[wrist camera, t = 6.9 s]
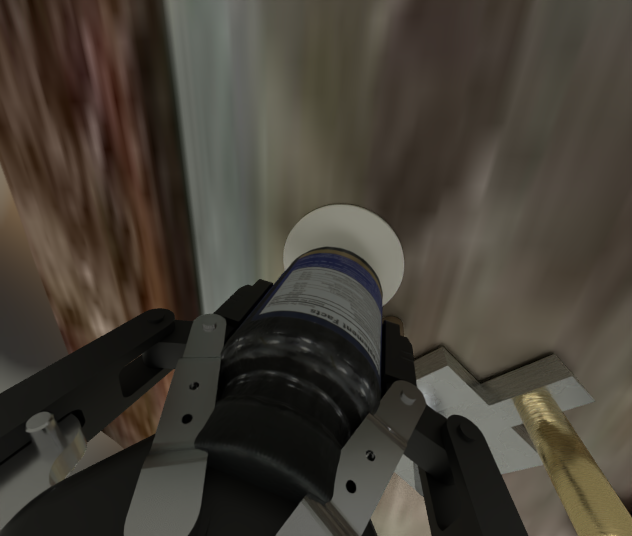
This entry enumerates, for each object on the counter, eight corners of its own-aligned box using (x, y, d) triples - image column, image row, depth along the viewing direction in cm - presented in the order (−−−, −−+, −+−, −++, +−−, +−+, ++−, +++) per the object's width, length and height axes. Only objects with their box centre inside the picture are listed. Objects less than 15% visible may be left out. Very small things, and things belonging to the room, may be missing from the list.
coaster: (410, 203, 17) (411, 205, 16) (398, 318, 20) (398, 322, 20) (280, 203, 19) (277, 205, 18) (290, 306, 23) (288, 310, 22)
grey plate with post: (416, 470, 27) (429, 608, 19) (337, 400, 26) (313, 518, 18) (612, 416, 19) (780, 618, 11) (513, 310, 18) (621, 452, 9)
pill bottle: (329, 343, 18) (262, 574, 8) (268, 280, 17) (109, 460, 7) (405, 299, 15) (437, 573, 5) (336, 221, 14) (227, 385, 4)
